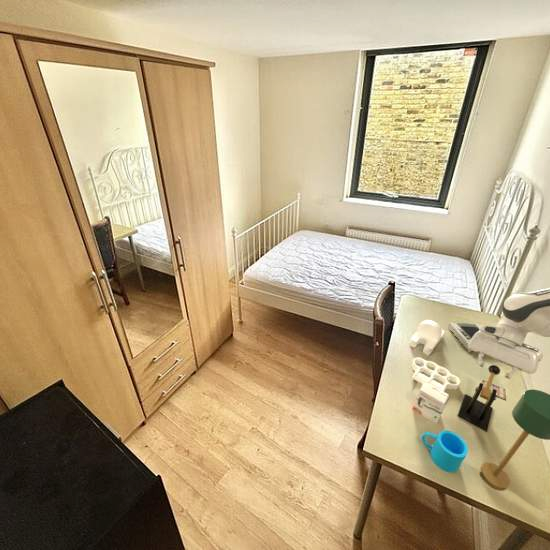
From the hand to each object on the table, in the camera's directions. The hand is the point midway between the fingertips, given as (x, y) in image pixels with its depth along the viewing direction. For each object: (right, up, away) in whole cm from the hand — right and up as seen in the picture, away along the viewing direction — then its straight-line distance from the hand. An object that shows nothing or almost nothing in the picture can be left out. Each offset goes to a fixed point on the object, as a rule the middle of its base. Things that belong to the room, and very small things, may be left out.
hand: (493, 372), depth 104 cm
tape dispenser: (-6, +3, +36) cm, 36 cm away
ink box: (-24, -16, +1) cm, 28 cm away
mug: (-26, -23, -11) cm, 36 cm away
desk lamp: (-13, -26, -17) cm, 34 cm away
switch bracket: (-6, -16, +2) cm, 17 cm away
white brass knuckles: (-14, -8, +16) cm, 22 cm away
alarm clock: (+18, +3, +37) cm, 42 cm away
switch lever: (-2, -4, -1) cm, 4 cm away
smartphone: (+10, -10, +14) cm, 19 cm away
